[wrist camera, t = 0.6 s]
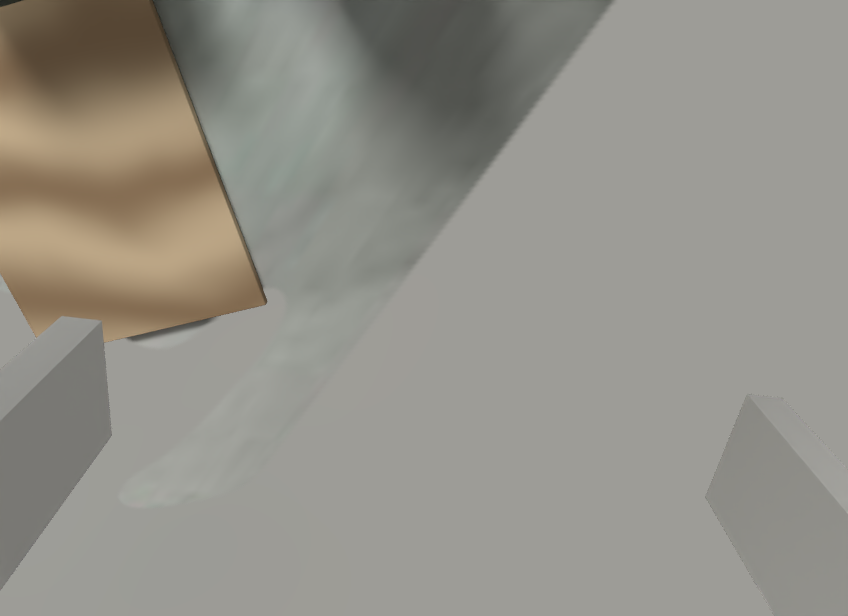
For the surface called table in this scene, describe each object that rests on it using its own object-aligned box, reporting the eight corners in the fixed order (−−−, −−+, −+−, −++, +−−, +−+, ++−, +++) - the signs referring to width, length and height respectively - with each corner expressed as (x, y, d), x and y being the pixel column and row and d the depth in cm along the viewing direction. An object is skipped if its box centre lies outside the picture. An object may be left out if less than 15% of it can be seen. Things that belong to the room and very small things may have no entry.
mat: (-120, 44, 32) (-128, 44, 32) (140, -33, 31) (135, -33, 31) (51, 352, 40) (46, 356, 39) (267, 301, 38) (265, 304, 38)
